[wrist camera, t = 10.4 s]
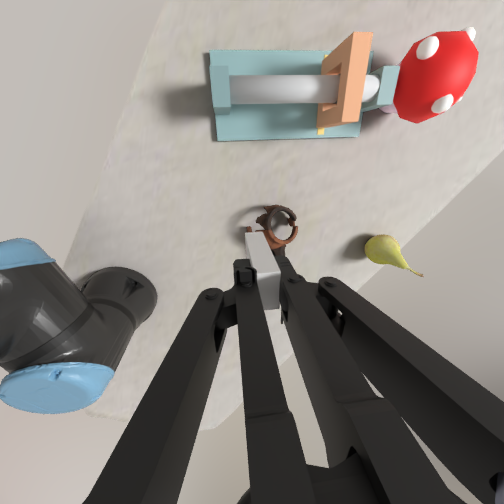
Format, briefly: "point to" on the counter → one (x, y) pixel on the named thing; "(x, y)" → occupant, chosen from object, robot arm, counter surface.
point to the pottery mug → (265, 221)
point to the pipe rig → (285, 94)
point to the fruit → (386, 252)
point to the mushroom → (434, 75)
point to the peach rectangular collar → (346, 80)
